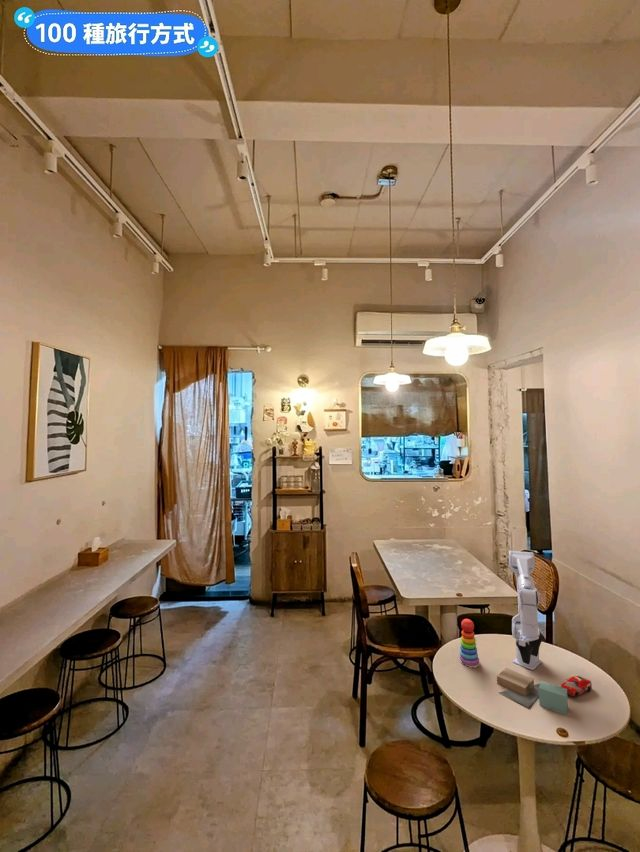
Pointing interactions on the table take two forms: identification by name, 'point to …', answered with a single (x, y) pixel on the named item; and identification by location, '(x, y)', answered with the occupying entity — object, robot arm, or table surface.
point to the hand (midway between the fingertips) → (530, 659)
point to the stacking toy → (468, 644)
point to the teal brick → (553, 697)
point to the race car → (577, 685)
